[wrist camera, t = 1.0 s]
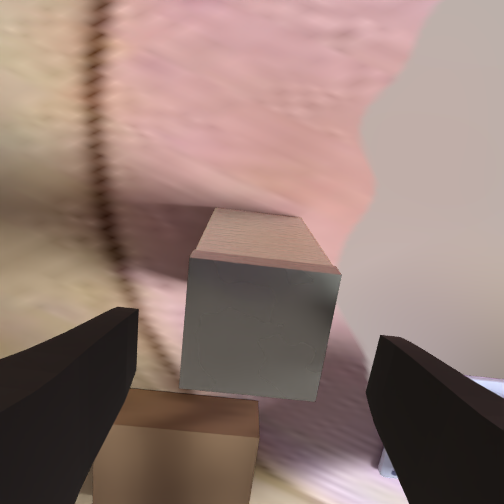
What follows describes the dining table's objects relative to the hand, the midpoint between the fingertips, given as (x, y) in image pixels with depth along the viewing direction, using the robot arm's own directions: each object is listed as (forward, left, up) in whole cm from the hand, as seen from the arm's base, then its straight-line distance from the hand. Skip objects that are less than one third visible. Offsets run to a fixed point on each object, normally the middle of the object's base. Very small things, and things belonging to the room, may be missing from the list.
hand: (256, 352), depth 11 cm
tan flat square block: (+3, +14, -10) cm, 17 cm away
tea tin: (0, 0, -10) cm, 10 cm away
